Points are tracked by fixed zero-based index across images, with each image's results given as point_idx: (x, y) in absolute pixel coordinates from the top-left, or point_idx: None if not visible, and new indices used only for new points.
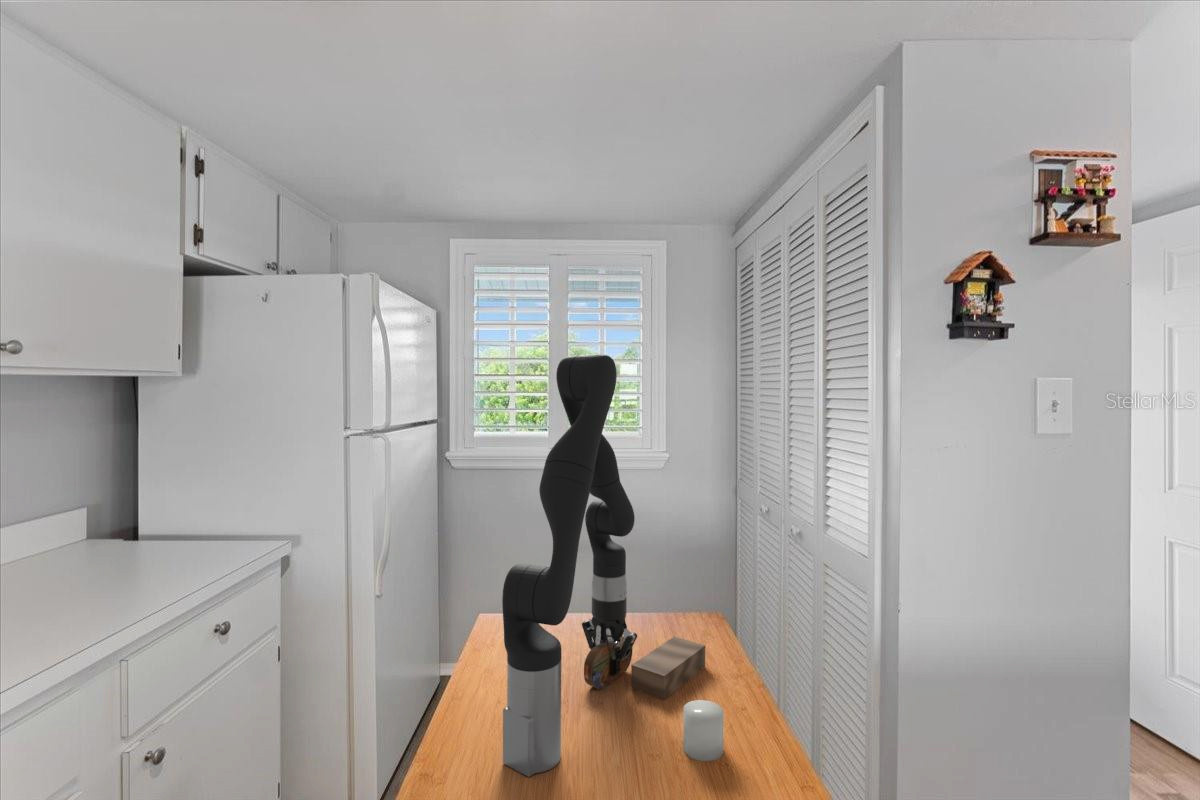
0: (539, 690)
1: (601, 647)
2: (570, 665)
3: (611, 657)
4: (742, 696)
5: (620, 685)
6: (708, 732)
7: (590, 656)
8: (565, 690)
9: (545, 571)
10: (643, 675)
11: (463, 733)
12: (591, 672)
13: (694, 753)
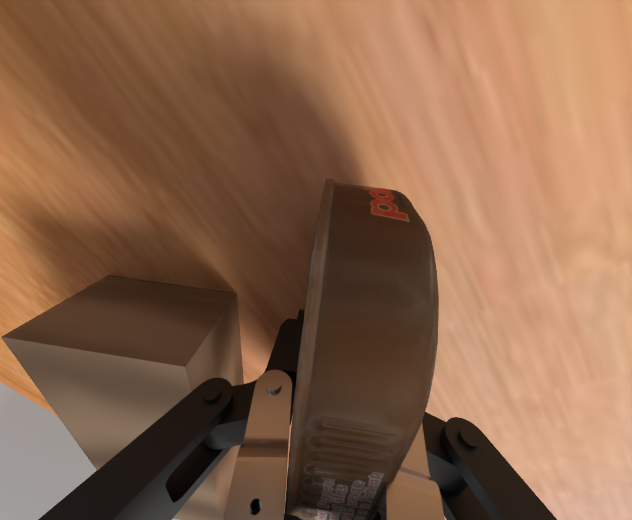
0: None
1: (334, 445)
2: (530, 337)
3: (288, 382)
4: (17, 368)
5: (278, 293)
6: None
7: (386, 300)
8: (484, 136)
9: None
10: (140, 330)
11: None
12: (327, 185)
13: None
